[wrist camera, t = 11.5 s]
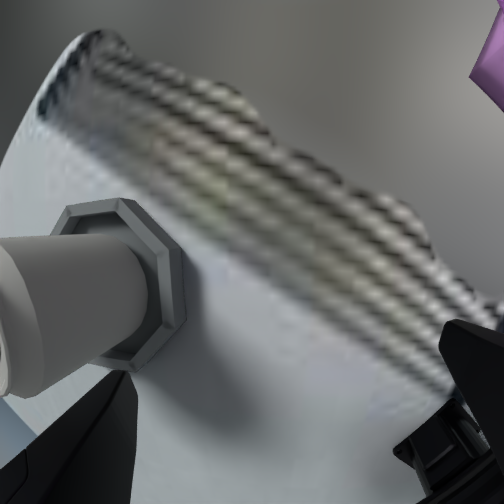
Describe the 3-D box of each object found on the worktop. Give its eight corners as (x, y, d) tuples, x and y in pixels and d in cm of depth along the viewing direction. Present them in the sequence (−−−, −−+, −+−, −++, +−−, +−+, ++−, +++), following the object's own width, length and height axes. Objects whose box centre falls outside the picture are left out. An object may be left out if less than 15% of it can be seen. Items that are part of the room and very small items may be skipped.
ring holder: (218, 284, 19) (210, 290, 17) (127, 384, 20) (114, 395, 19) (107, 171, 19) (91, 166, 17) (41, 281, 21) (25, 284, 19)
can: (124, 356, 20) (9, 438, 8) (60, 291, 20) (-63, 325, 8) (174, 279, 19) (31, 339, 7) (98, 212, 19) (-48, 205, 7)
